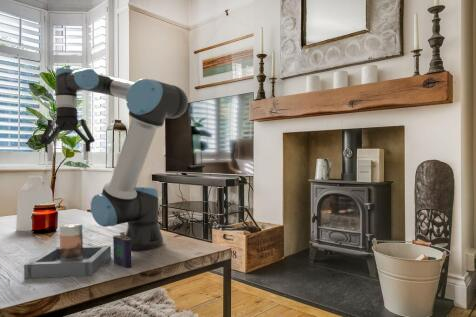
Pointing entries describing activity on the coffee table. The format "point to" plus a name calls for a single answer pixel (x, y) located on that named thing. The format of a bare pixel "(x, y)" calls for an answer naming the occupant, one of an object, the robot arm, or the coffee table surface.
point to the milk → (31, 201)
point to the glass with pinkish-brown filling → (71, 242)
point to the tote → (67, 263)
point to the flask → (122, 250)
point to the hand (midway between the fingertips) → (68, 160)
